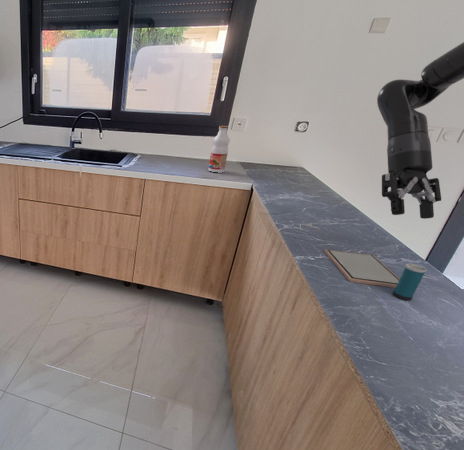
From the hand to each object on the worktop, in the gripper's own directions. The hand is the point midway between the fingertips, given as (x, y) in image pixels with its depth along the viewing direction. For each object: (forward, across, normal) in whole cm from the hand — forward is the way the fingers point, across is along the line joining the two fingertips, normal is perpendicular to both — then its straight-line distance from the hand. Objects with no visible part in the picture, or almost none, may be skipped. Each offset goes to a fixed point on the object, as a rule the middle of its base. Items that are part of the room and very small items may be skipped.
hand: (412, 216), depth 77 cm
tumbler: (+20, -2, +2) cm, 20 cm away
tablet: (+13, +1, +13) cm, 19 cm away
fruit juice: (-48, +22, +114) cm, 126 cm away
